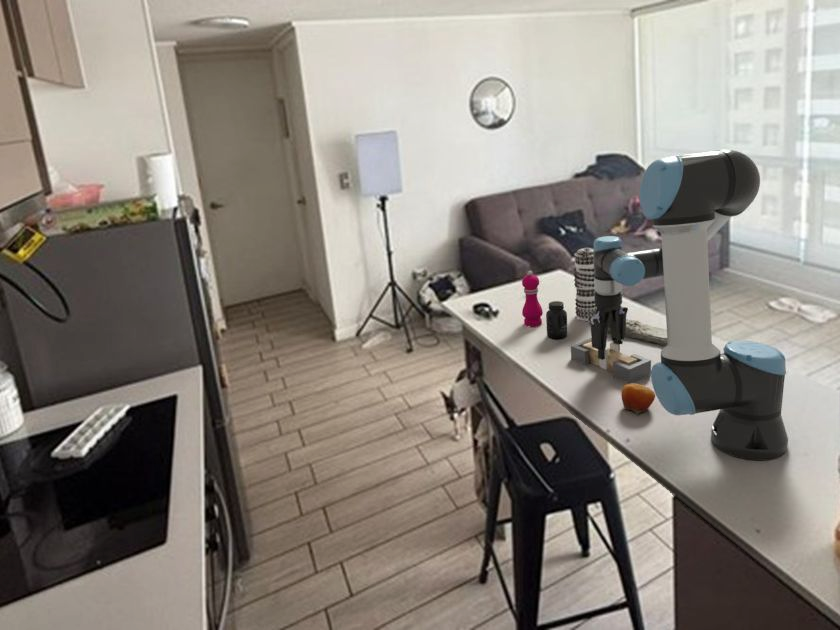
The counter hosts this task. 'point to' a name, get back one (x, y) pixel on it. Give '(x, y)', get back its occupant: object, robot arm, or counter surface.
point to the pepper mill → (531, 301)
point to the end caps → (615, 364)
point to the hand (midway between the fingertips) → (609, 365)
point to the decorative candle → (584, 284)
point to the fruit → (637, 397)
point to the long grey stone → (645, 332)
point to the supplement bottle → (556, 321)
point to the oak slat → (609, 356)
